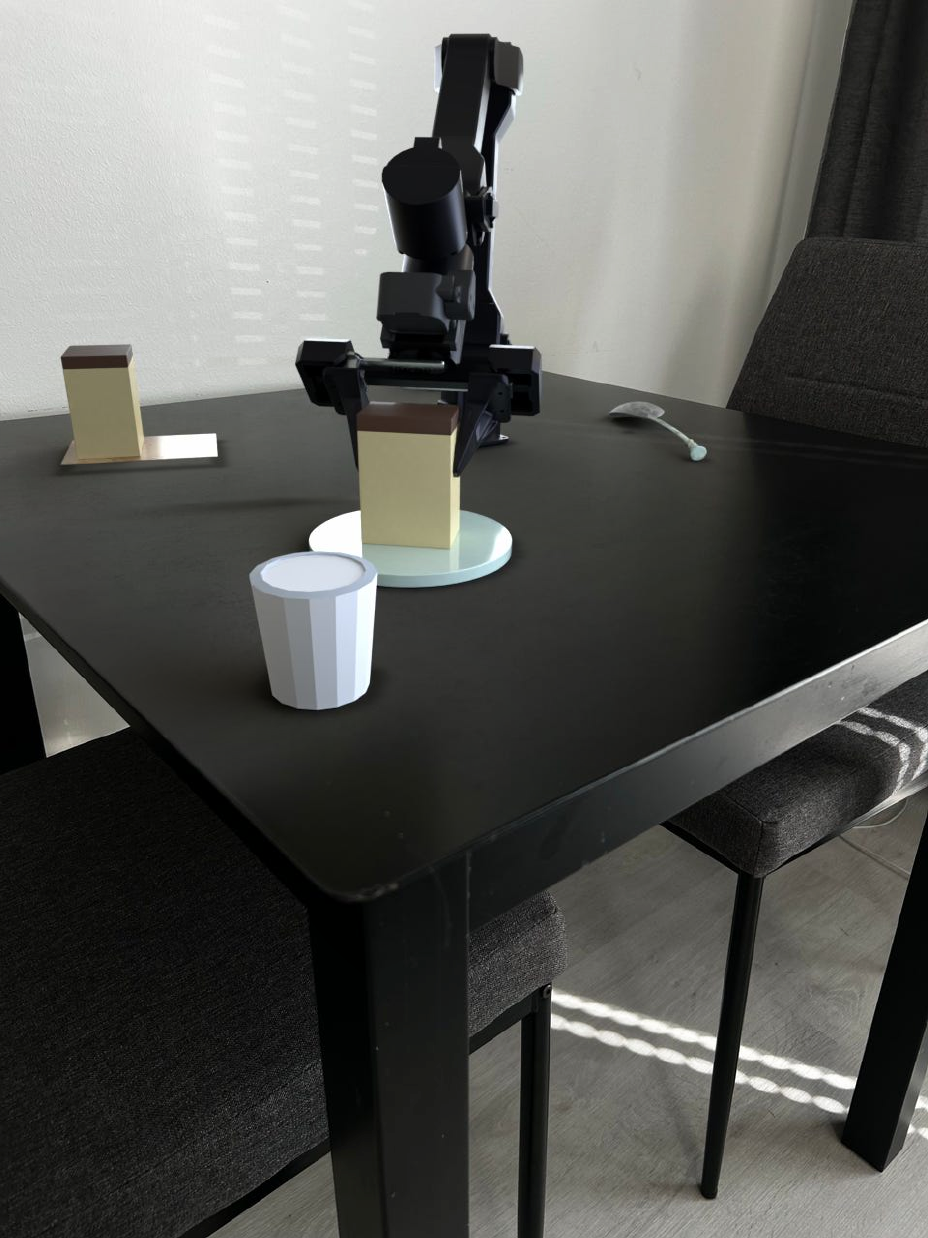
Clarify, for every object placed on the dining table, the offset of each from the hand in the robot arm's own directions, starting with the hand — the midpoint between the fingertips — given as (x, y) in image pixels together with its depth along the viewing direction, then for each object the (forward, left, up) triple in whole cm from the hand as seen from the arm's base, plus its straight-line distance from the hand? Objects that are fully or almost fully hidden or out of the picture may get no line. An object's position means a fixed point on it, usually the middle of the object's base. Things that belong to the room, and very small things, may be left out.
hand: (406, 472), depth 68 cm
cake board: (+8, -39, -7) cm, 41 cm away
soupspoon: (-45, -17, -7) cm, 49 cm away
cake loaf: (+11, -40, -6) cm, 42 cm away
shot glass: (+15, +15, -7) cm, 22 cm away
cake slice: (-1, -1, -6) cm, 6 cm away
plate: (-1, -1, -7) cm, 7 cm away
